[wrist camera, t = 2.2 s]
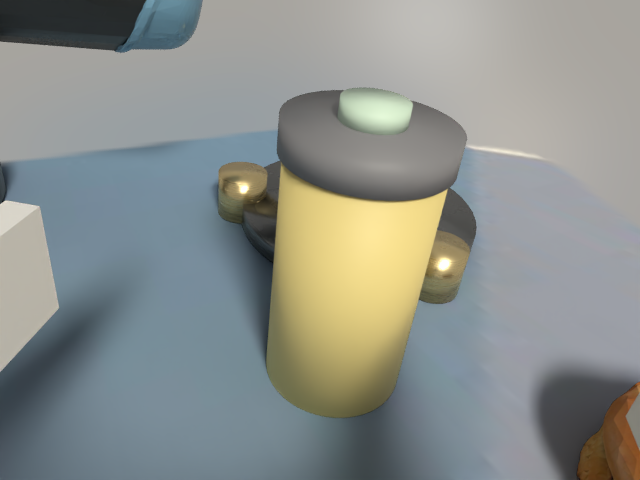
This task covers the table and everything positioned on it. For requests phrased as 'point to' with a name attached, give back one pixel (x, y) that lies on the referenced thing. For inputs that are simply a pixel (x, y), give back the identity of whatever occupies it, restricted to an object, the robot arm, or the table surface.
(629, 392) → the burger
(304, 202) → the yellow battery cell
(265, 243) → the tribrach
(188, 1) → the robot arm
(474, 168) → the table surface
